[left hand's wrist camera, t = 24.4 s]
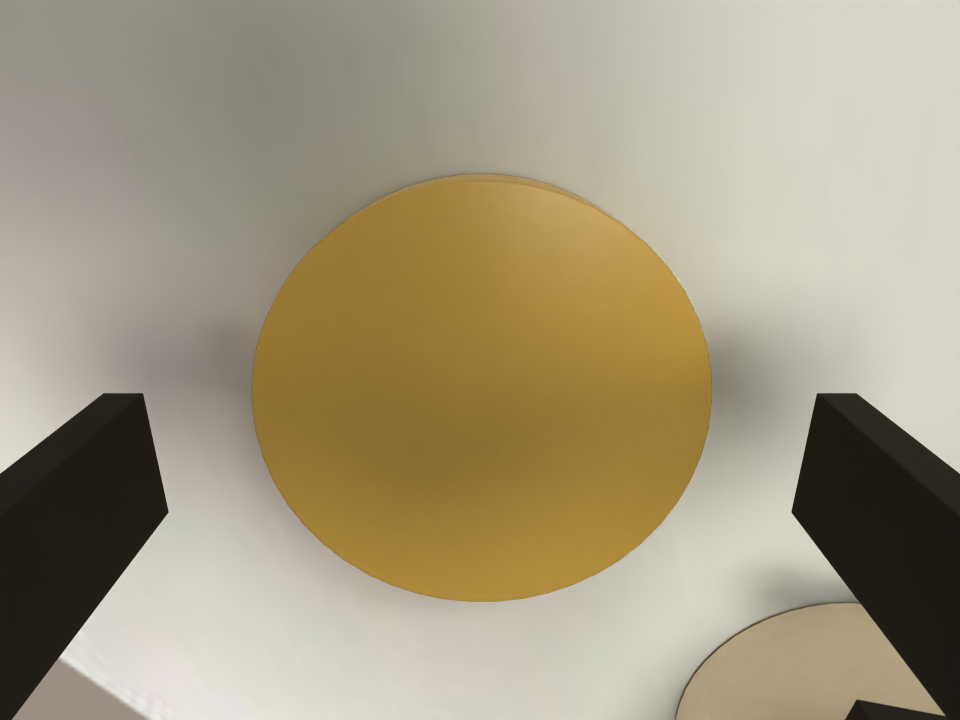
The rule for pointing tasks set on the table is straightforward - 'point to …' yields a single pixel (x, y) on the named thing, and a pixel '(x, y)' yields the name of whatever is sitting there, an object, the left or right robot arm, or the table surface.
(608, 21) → the table surface
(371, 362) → the lid
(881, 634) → the jar
